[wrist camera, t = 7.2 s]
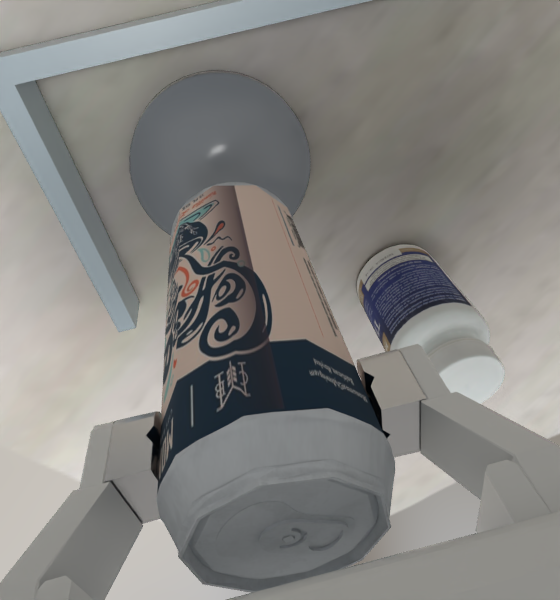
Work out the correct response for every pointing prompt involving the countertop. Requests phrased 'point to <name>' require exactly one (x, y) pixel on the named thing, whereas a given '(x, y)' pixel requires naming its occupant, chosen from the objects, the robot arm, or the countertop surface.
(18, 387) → the countertop surface
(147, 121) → the coaster
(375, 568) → the robot arm
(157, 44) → the divider wall
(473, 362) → the pill bottle
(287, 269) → the beer can
